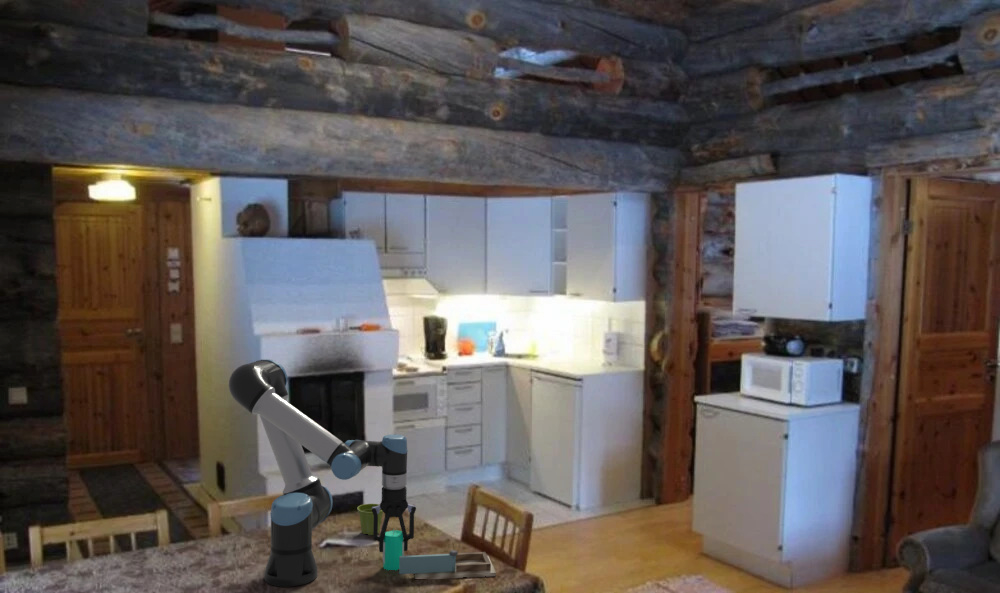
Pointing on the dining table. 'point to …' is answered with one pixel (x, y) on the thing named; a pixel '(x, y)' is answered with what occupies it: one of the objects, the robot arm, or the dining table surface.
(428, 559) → the keeper
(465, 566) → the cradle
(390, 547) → the candle
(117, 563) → the dining table surface
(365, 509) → the plant pot
